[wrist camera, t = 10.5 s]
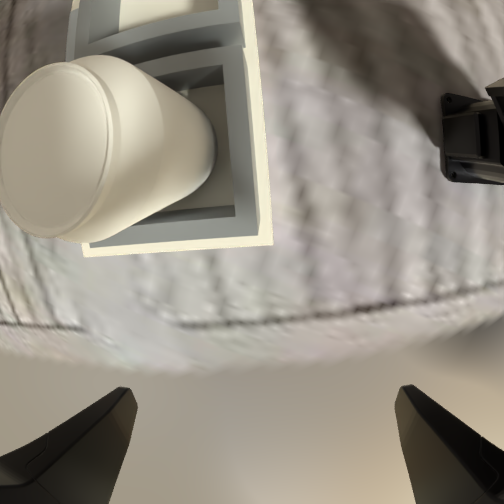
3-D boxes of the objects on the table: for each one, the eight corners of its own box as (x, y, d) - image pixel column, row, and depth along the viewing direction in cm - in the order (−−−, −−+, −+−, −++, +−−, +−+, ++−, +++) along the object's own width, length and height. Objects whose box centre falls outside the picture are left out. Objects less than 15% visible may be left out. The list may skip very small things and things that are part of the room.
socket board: (245, -59, 13) (239, -97, 8) (273, 240, 20) (274, 267, 15) (82, -15, 14) (51, -37, 9) (90, 253, 21) (53, 276, 16)
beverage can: (123, 192, 18) (-17, 244, 7) (134, 100, 16) (-5, 61, 5) (213, 204, 18) (129, 281, 7) (228, 105, 16) (160, 26, 5)
